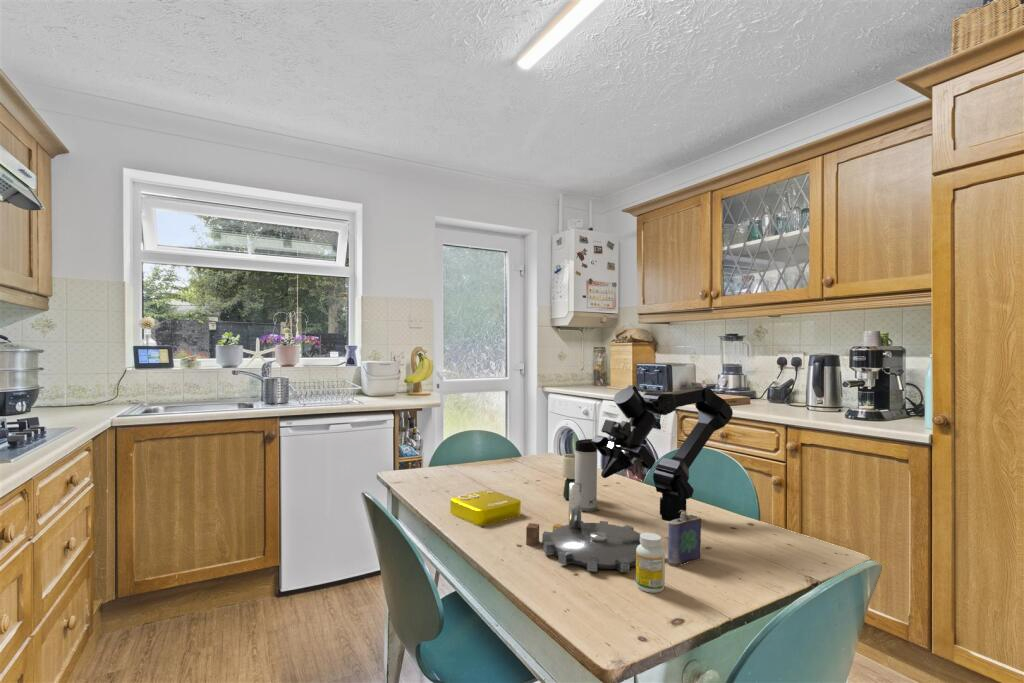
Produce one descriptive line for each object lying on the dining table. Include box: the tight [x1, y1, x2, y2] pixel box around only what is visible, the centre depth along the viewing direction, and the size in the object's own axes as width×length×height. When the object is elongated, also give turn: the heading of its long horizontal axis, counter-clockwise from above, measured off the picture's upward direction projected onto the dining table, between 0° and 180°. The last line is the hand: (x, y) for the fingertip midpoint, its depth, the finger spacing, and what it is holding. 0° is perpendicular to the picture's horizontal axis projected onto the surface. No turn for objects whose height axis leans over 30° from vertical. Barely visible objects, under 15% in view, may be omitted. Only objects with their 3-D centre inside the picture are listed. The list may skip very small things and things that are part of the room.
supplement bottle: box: [635, 532, 666, 594], centre depth 97 cm, size 5×5×10 cm
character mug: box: [561, 453, 575, 500], centre depth 155 cm, size 11×7×13 cm, turn 30°
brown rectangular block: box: [525, 522, 540, 547], centre depth 119 cm, size 2×3×4 cm
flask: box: [667, 510, 702, 567], centre depth 110 cm, size 9×3×11 cm, turn 121°
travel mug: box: [574, 438, 598, 513], centre depth 145 cm, size 6×7×20 cm
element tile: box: [449, 489, 521, 526], centre depth 140 cm, size 15×15×5 cm
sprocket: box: [541, 482, 641, 573], centre depth 114 cm, size 25×25×12 cm
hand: (602, 476), depth 126 cm, fingers closed
